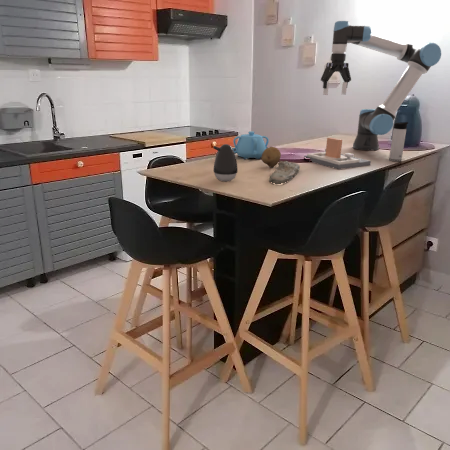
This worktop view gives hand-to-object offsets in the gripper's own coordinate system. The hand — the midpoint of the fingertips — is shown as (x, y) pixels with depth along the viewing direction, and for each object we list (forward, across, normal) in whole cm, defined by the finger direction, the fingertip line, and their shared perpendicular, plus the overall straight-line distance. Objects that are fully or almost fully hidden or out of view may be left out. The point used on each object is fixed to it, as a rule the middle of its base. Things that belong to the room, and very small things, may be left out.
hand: (334, 94), depth 239 cm
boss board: (+32, +16, +22) cm, 42 cm away
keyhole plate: (+30, +18, +22) cm, 41 cm away
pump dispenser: (+32, +86, +28) cm, 96 cm away
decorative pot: (+32, +49, -8) cm, 59 cm away
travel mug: (+32, -17, +33) cm, 49 cm away
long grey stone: (+32, +58, +34) cm, 75 cm away
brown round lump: (+32, +54, +17) cm, 65 cm away
